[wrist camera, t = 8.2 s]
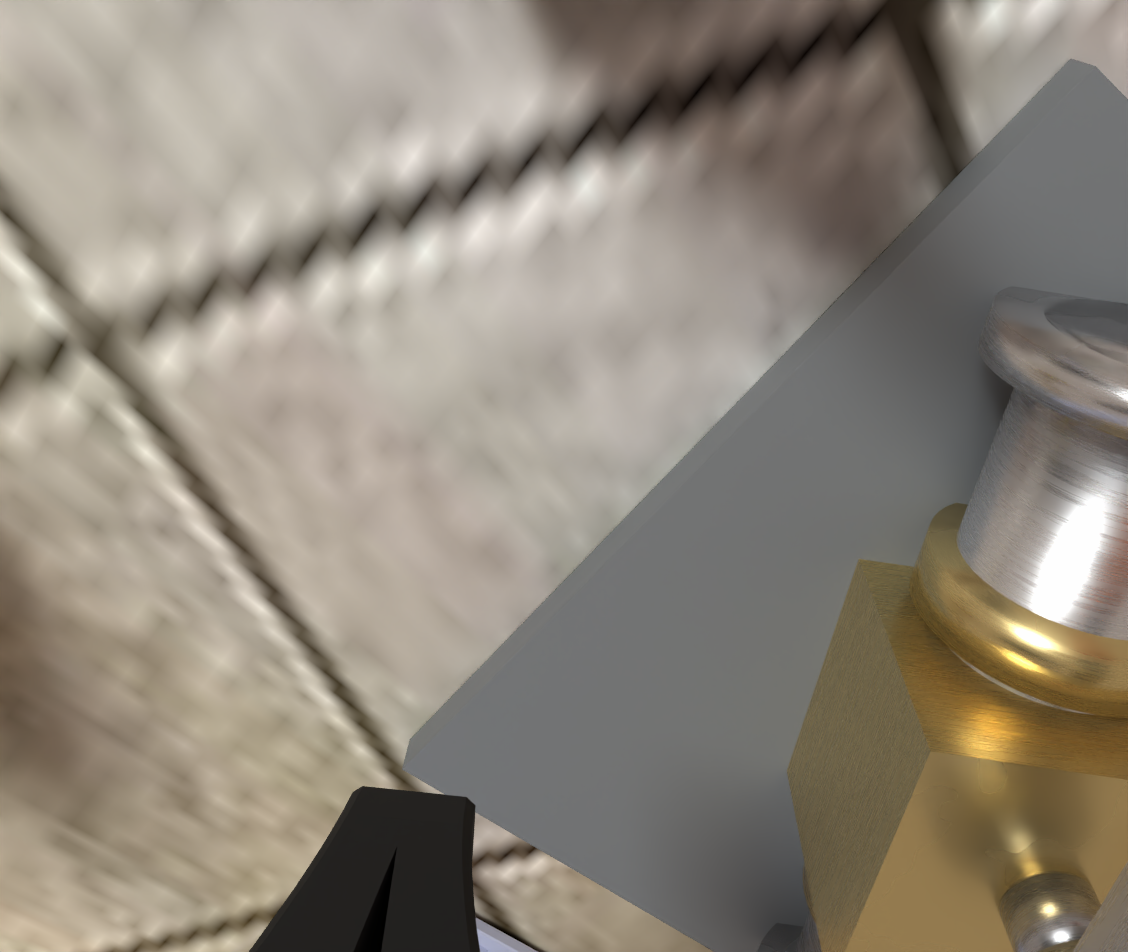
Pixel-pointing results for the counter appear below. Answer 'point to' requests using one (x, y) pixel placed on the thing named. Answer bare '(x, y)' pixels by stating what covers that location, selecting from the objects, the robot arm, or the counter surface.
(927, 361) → the mounting board
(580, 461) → the counter surface
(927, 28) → the counter surface
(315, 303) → the counter surface
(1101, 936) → the lever
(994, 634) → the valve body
